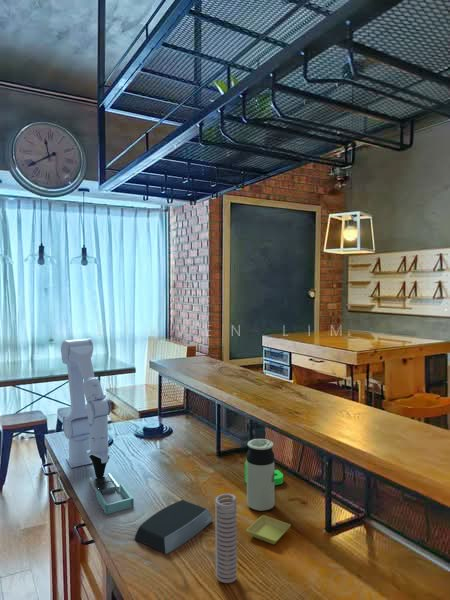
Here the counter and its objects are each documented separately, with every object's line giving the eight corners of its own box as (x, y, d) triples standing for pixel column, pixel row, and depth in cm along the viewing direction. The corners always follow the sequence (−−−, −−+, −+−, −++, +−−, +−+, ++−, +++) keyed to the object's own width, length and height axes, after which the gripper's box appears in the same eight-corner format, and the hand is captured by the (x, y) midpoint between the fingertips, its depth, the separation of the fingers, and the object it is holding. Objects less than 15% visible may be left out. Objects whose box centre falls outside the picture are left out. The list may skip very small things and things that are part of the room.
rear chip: (94, 484, 139) (94, 478, 139) (107, 481, 141) (107, 475, 141) (98, 490, 136) (98, 483, 136) (110, 486, 138) (110, 480, 138)
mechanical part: (252, 489, 135) (252, 464, 135) (244, 481, 141) (244, 457, 140) (286, 483, 139) (286, 458, 139) (277, 475, 145) (277, 451, 145)
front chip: (98, 490, 135) (98, 484, 135) (111, 487, 137) (111, 481, 137) (102, 496, 132) (102, 489, 132) (115, 492, 134) (115, 486, 134)
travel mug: (242, 507, 124) (242, 445, 123) (253, 495, 131) (253, 436, 130) (268, 514, 120) (268, 450, 119) (278, 501, 127) (278, 441, 127)
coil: (213, 583, 93) (213, 501, 92) (217, 569, 97) (217, 490, 97) (235, 585, 92) (235, 502, 91) (238, 571, 97) (237, 492, 96)
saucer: (275, 549, 105) (275, 541, 105) (245, 537, 110) (245, 529, 110) (291, 532, 112) (291, 524, 112) (262, 522, 117) (262, 514, 117)
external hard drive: (215, 522, 117) (215, 508, 117) (168, 557, 102) (167, 541, 102) (180, 508, 124) (180, 495, 124) (132, 539, 110) (132, 524, 110)
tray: (96, 498, 130) (96, 490, 130) (122, 491, 134) (122, 483, 134) (105, 514, 121) (105, 505, 120) (133, 506, 125) (133, 498, 125)
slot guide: (89, 482, 140) (89, 477, 140) (109, 477, 143) (109, 472, 143) (98, 496, 131) (98, 491, 131) (119, 491, 134) (119, 486, 134)
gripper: (81, 431, 145) (82, 471, 146) (91, 445, 133) (92, 488, 133) (102, 427, 149) (103, 466, 150) (114, 441, 136) (115, 483, 137)
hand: (99, 476), depth 142 cm, fingers closed
